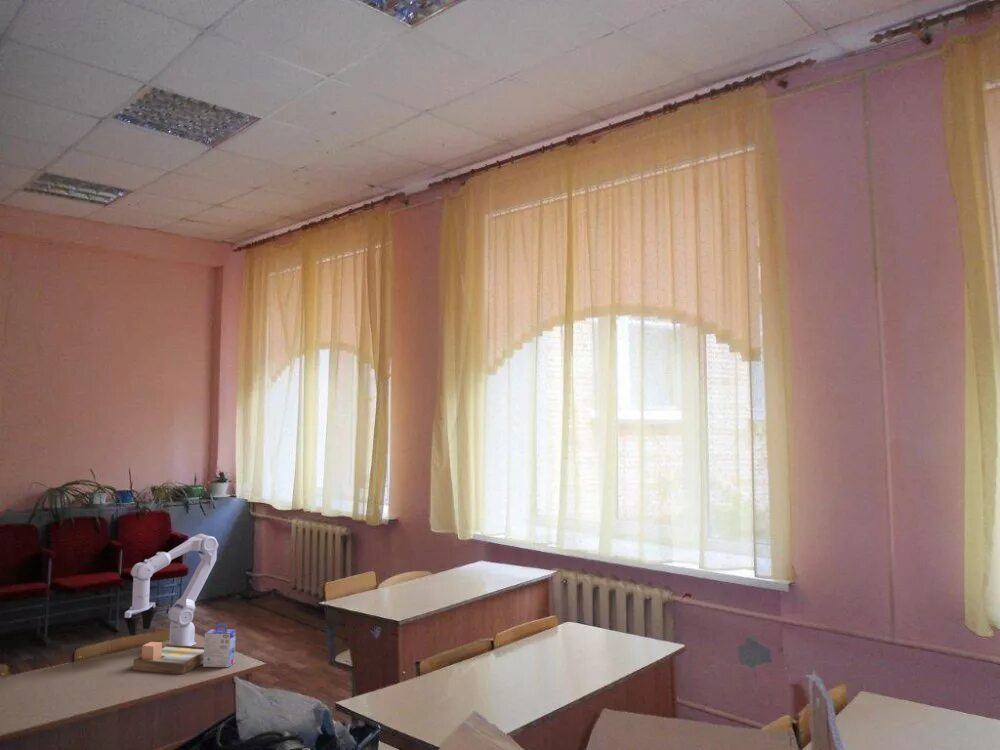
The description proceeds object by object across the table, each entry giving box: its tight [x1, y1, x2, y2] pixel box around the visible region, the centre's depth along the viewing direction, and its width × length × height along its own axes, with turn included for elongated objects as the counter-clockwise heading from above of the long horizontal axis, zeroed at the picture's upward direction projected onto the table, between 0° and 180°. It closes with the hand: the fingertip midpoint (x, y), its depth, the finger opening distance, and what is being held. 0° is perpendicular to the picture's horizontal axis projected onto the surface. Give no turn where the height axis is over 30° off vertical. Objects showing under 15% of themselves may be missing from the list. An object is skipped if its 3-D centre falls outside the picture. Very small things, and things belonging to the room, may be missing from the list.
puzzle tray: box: [132, 643, 204, 675], centre depth 258 cm, size 18×20×4 cm
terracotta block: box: [141, 641, 163, 661], centre depth 255 cm, size 5×5×7 cm
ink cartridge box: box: [202, 623, 237, 668], centre depth 257 cm, size 10×6×14 cm, turn 88°
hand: (139, 631), depth 264 cm, fingers open, 7 cm apart
